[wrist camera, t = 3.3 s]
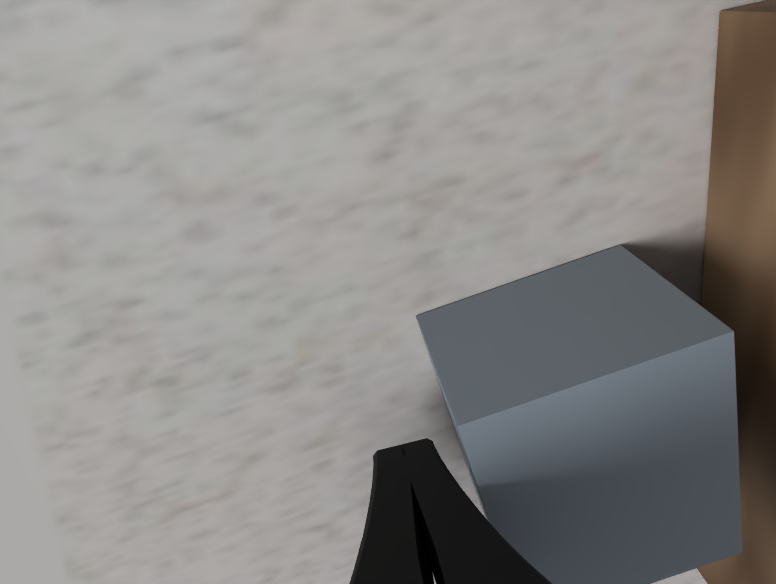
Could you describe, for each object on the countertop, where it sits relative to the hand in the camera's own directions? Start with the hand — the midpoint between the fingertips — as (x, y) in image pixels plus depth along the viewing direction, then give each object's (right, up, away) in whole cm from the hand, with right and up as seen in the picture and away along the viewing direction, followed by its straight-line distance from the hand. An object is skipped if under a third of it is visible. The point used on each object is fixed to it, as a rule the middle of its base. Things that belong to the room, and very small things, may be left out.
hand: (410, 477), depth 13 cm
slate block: (+3, +2, +2) cm, 4 cm away
